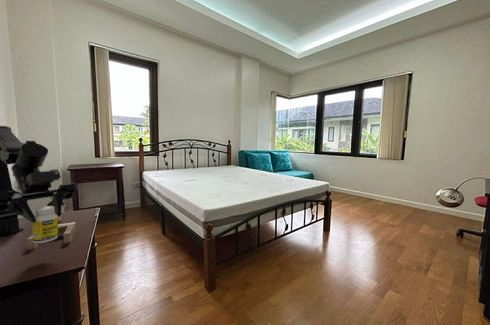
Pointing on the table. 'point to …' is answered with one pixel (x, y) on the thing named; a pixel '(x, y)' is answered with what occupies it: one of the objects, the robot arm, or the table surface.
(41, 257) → the table surface
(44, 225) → the supplement bottle
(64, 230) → the notched board
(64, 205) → the grandmother figurine
